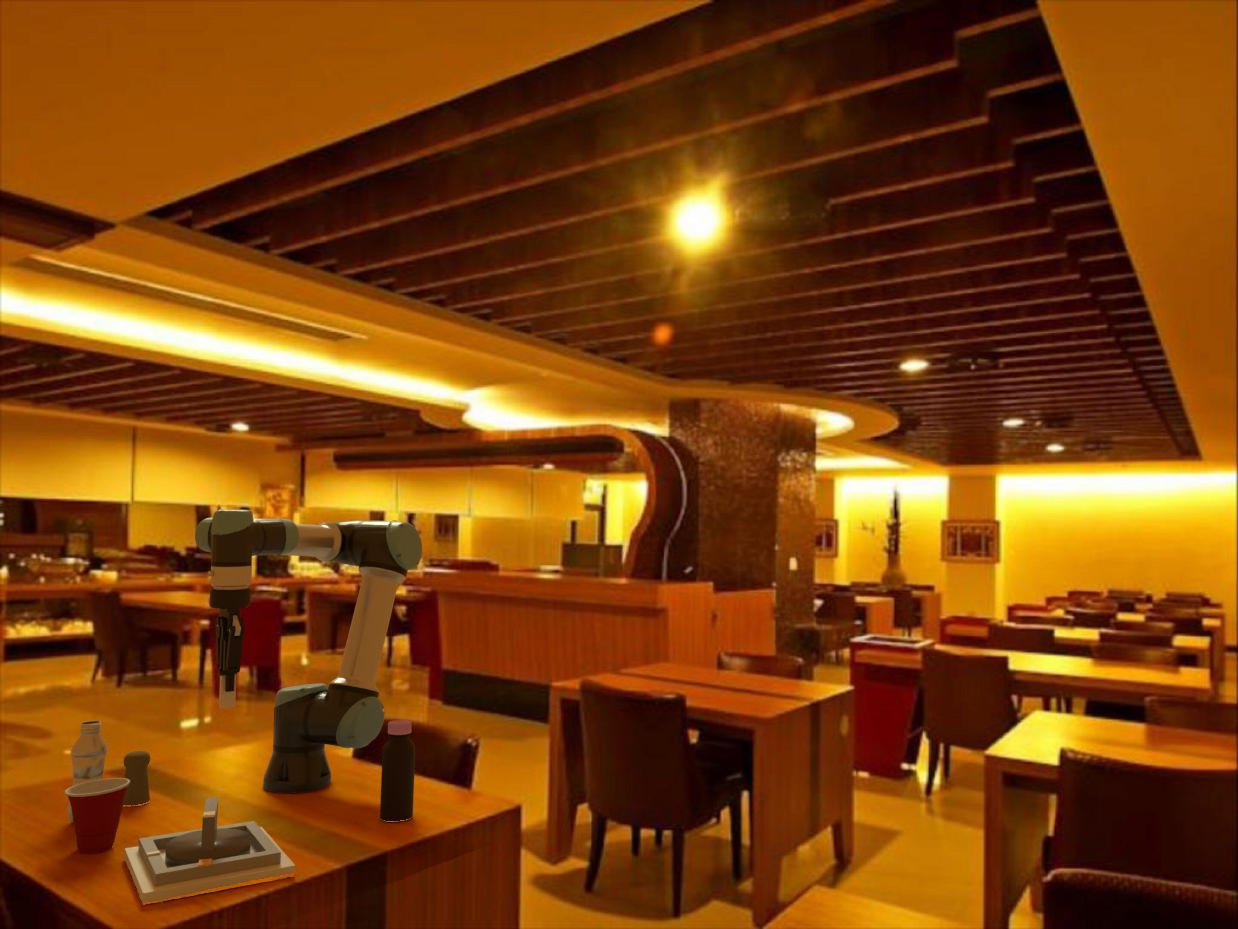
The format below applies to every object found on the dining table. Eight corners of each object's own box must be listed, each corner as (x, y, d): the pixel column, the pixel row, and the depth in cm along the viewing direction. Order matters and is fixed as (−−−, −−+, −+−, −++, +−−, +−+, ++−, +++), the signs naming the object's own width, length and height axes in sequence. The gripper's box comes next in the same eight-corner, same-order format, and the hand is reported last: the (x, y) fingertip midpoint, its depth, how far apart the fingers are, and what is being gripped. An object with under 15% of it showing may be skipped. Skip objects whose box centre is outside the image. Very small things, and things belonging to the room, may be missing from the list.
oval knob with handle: (169, 846, 170) (171, 797, 171) (250, 838, 175) (253, 791, 176) (161, 873, 157) (163, 820, 158) (249, 864, 162) (252, 813, 163)
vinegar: (419, 818, 197) (422, 722, 198) (391, 825, 192) (395, 727, 193) (400, 811, 201) (404, 717, 202) (373, 818, 196) (377, 722, 197)
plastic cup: (78, 839, 180) (82, 775, 180) (136, 838, 180) (140, 776, 181) (49, 859, 169) (53, 792, 169) (110, 859, 170) (114, 792, 170)
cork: (155, 799, 205) (158, 749, 206) (139, 808, 199) (142, 756, 200) (130, 798, 206) (133, 748, 206) (112, 806, 200) (115, 754, 200)
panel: (261, 837, 183) (262, 815, 183) (294, 877, 163) (295, 852, 163) (124, 859, 169) (125, 835, 170) (142, 906, 150) (144, 878, 150)
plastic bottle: (111, 819, 192) (117, 720, 193) (83, 829, 185) (89, 727, 186) (88, 815, 194) (93, 718, 195) (59, 825, 187) (65, 724, 189)
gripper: (202, 585, 187) (199, 703, 186) (219, 591, 177) (215, 716, 176) (241, 583, 192) (238, 699, 191) (259, 589, 181) (256, 711, 180)
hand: (227, 707), depth 183 cm, fingers closed
